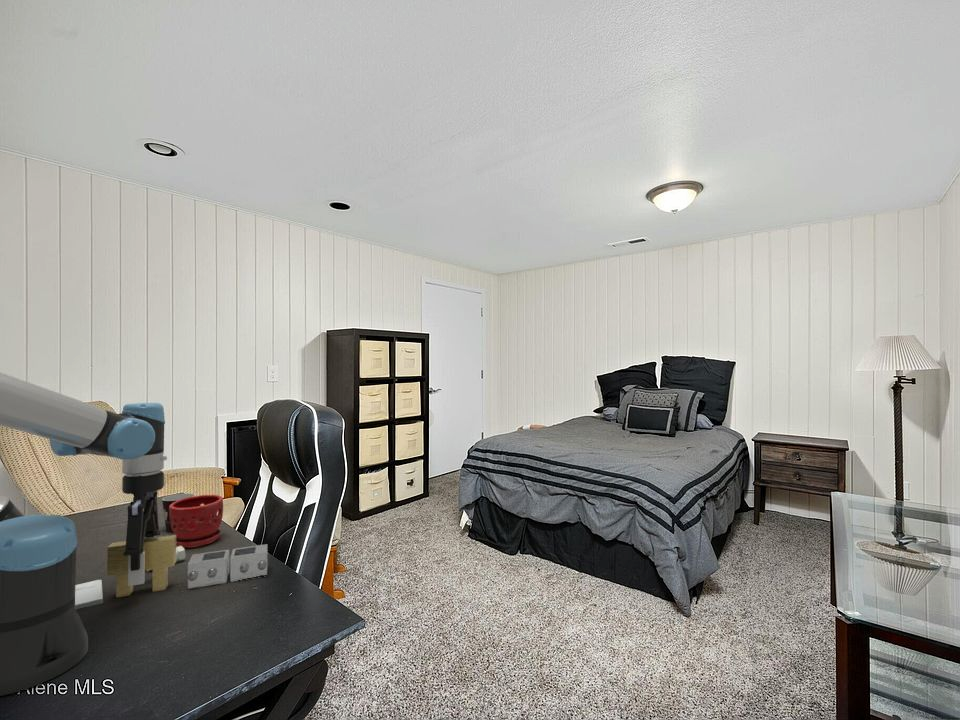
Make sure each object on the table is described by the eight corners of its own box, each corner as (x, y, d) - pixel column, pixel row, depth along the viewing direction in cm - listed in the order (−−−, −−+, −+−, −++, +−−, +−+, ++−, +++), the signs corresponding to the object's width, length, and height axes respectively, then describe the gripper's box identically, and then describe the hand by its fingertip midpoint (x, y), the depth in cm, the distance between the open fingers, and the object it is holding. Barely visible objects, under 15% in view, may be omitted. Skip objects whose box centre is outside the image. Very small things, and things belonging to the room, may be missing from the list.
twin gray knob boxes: (266, 577, 110) (266, 553, 110) (187, 590, 104) (187, 565, 104) (267, 566, 116) (267, 544, 116) (192, 578, 110) (192, 554, 110)
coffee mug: (164, 527, 147) (164, 495, 147) (196, 523, 151) (196, 492, 151) (157, 539, 137) (157, 504, 137) (191, 534, 140) (191, 501, 140)
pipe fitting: (137, 569, 117) (150, 573, 113) (136, 553, 117) (150, 556, 113) (172, 558, 123) (185, 561, 120) (171, 543, 124) (185, 546, 120)
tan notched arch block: (173, 588, 104) (173, 538, 105) (106, 599, 100) (107, 547, 100) (176, 583, 107) (176, 534, 108) (111, 593, 103) (112, 542, 103)
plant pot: (175, 538, 137) (175, 497, 138) (226, 532, 142) (226, 492, 142) (163, 554, 125) (163, 509, 125) (219, 547, 130) (219, 503, 130)
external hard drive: (49, 619, 93) (53, 596, 103) (102, 606, 98) (101, 585, 108) (50, 611, 93) (53, 589, 103) (103, 598, 98) (101, 578, 108)
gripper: (151, 481, 96) (150, 592, 95) (173, 462, 116) (173, 554, 115) (105, 485, 93) (104, 600, 92) (137, 465, 113) (136, 559, 112)
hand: (142, 574), depth 104 cm, fingers open, 9 cm apart
